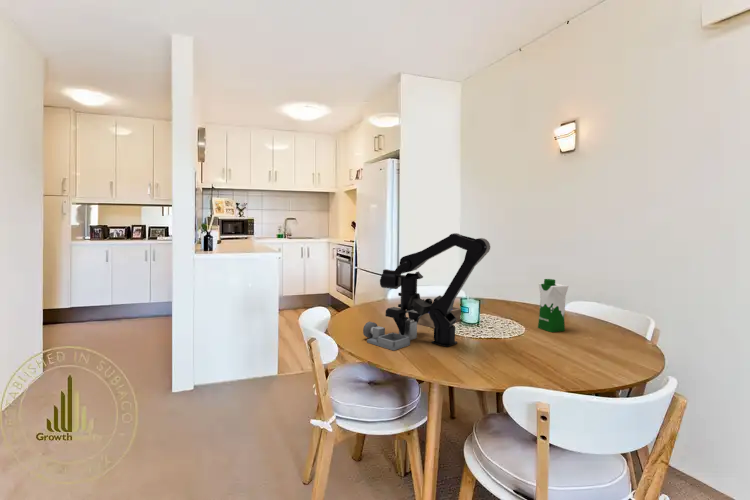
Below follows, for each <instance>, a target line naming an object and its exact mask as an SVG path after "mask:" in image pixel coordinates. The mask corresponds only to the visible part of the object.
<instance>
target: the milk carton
mask: <svg viewBox="0 0 750 500" xmlns="http://www.w3.org/2000/svg"><path fill="white" fill-rule="evenodd" d="M538 287H539V288H538V289H539V293H540V295H539V313H538V315H539V316H538V322H537V329H541V330H542V331H546V332H549V333H558V332H565V331H566V328H565V327H566V325H565V313H566V312H565V311H566V296H567V292H568V290H569V285H566V284H560V283H556V279H552V278H545V279H544V281H543V283H538Z"/></svg>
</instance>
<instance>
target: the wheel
mask: <svg viewBox="0 0 750 500" xmlns="http://www.w3.org/2000/svg"><path fill="white" fill-rule="evenodd" d="M378 326H379V325H378V324H377V323H375V322H373V321H367V322H366V323H365V324H364V325H363V330H362V333H363V336H364V337H365V338H368V339H371V338H373V334H371V333H370V330H371V328H372V327H378Z"/></svg>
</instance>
